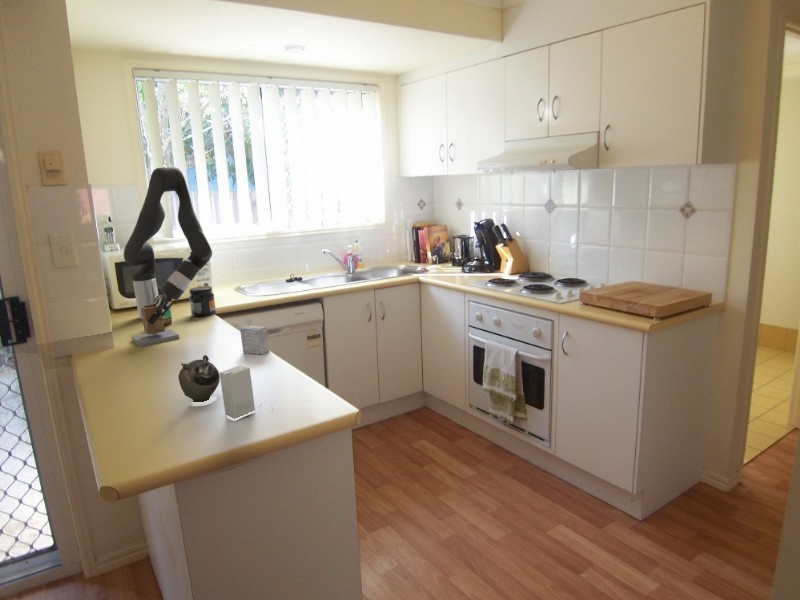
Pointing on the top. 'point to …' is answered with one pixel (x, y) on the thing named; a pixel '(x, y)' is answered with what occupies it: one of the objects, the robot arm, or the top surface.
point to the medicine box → (254, 339)
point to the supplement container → (202, 301)
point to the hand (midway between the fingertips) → (148, 321)
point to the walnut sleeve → (146, 314)
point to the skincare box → (237, 391)
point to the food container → (167, 318)
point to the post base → (155, 337)
